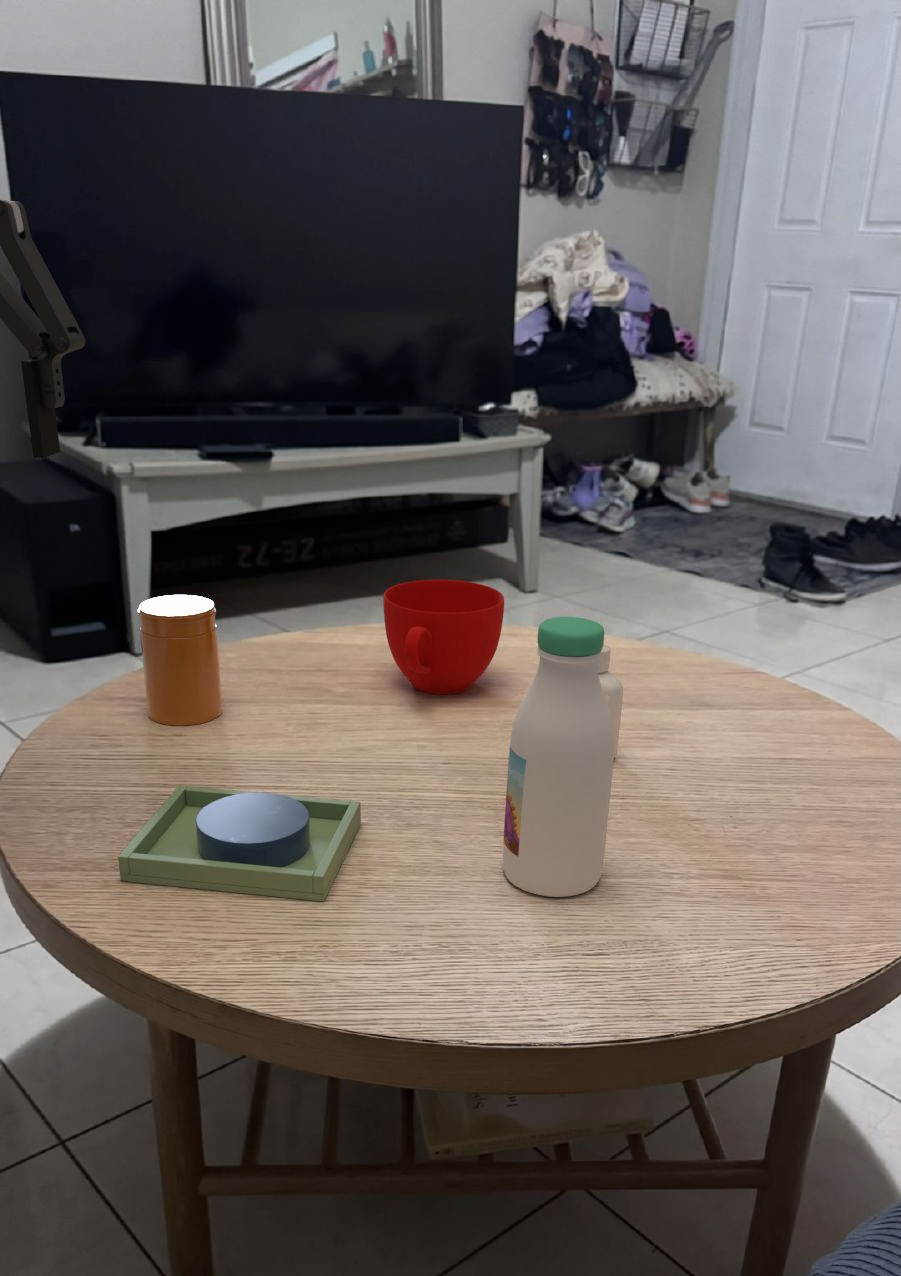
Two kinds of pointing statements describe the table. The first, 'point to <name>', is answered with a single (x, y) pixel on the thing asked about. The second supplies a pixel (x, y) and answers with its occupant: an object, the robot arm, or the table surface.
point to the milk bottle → (560, 766)
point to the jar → (180, 659)
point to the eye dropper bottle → (611, 692)
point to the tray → (175, 861)
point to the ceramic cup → (443, 632)
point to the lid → (254, 830)
